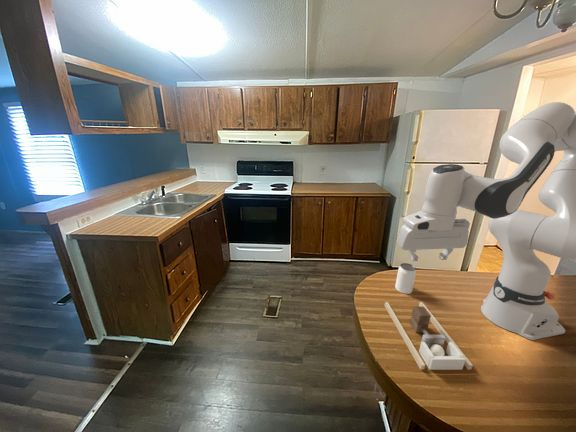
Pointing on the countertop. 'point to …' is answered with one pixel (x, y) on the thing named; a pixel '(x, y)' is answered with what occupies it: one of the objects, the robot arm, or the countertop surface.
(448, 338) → the pitch
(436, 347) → the ball
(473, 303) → the countertop surface
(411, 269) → the can
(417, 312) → the block
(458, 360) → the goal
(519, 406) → the countertop surface
